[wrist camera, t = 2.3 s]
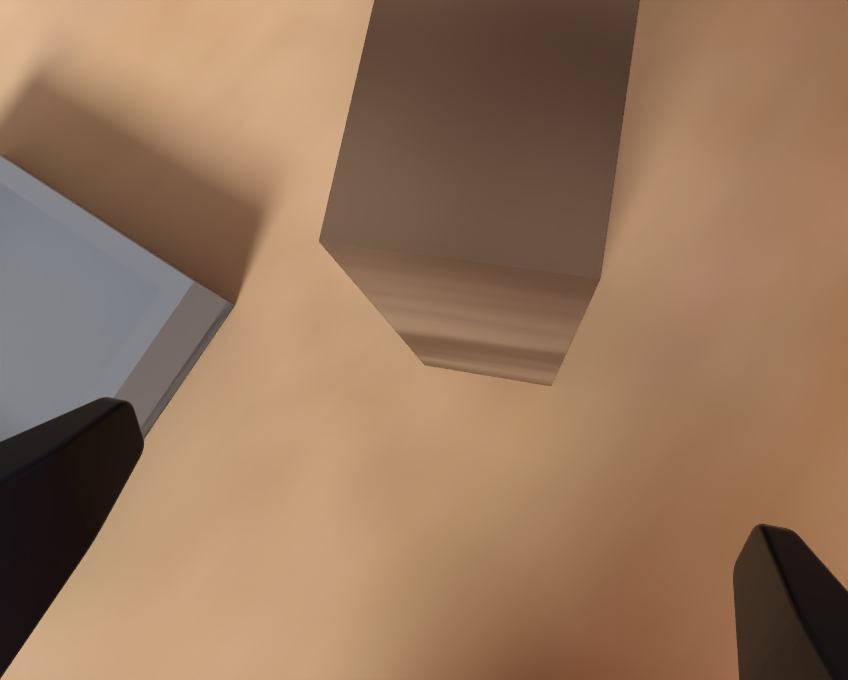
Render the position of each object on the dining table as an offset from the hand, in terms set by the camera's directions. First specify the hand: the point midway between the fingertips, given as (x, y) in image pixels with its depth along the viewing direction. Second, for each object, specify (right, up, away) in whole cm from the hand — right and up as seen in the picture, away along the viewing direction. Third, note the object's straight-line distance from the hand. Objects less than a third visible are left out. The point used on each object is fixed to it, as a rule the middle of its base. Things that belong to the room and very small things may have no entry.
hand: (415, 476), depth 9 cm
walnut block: (+3, +3, +13) cm, 13 cm away
